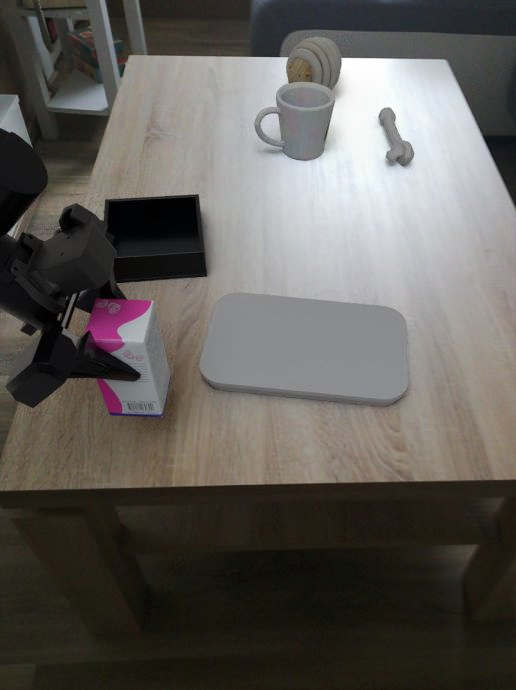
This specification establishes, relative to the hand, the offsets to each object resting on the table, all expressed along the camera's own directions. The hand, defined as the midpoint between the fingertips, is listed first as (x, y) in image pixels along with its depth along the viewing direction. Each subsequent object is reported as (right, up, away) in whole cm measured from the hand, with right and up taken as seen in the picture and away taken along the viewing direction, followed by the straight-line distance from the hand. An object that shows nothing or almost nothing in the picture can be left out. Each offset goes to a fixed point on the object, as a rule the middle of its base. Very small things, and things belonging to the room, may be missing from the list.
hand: (143, 354), depth 55 cm
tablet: (+16, +2, +19) cm, 25 cm away
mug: (+14, +42, +49) cm, 66 cm away
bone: (+34, +45, +52) cm, 77 cm away
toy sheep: (+18, +59, +63) cm, 88 cm away
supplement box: (-2, -4, +5) cm, 7 cm away
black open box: (-6, +19, +30) cm, 36 cm away
